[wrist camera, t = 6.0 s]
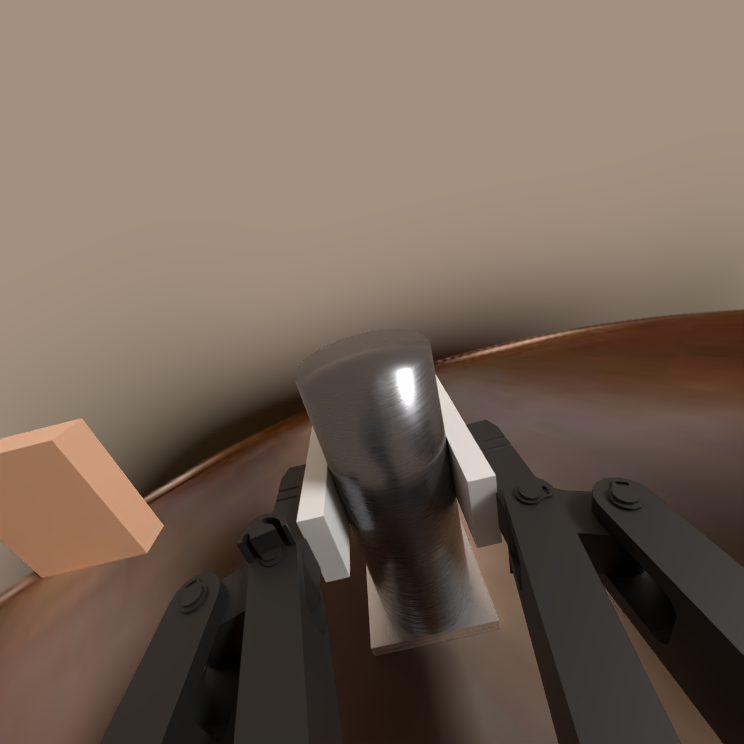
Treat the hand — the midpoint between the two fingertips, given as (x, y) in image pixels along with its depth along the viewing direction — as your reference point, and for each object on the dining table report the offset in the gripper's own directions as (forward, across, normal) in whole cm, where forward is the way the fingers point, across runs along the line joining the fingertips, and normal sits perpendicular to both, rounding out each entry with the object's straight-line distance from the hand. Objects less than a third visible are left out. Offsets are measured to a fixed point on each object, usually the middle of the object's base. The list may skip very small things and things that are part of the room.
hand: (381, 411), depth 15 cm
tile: (+3, -20, -7) cm, 21 cm away
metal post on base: (-1, 0, -7) cm, 7 cm away
